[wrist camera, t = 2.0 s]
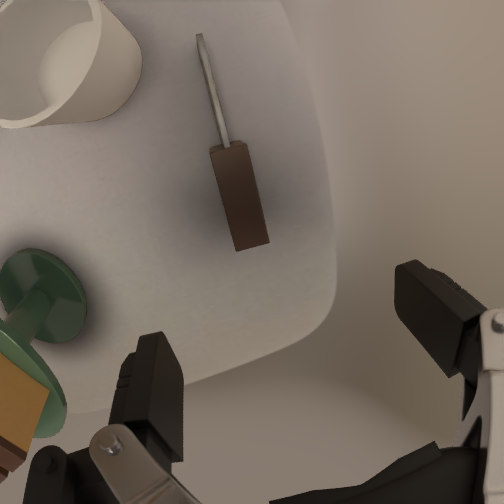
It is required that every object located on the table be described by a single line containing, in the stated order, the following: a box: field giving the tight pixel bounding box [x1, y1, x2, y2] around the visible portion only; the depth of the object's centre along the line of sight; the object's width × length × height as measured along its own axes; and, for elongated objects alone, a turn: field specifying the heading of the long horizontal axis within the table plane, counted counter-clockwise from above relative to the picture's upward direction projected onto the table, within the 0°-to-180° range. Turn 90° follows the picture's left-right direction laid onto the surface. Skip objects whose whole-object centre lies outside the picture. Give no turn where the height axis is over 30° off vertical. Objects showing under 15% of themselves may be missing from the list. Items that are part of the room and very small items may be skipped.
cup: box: [0, 0, 142, 129], centre depth 13 cm, size 8×12×10 cm
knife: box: [196, 33, 269, 252], centre depth 21 cm, size 15×2×4 cm, turn 13°
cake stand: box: [0, 249, 87, 438], centre depth 20 cm, size 13×13×12 cm
